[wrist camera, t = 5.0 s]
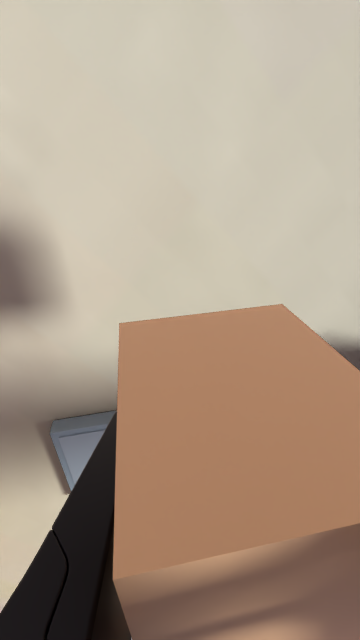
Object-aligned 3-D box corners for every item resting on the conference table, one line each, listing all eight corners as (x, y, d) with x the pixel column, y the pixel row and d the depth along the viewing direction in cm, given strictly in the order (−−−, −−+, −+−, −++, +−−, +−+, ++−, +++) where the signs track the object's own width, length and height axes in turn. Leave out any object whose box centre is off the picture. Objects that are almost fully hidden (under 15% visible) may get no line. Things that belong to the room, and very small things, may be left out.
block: (281, 303, 9) (499, 490, 4) (266, 420, 11) (388, 634, 6) (119, 323, 8) (113, 579, 3) (138, 441, 11) (153, 701, 6)
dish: (171, 401, 23) (174, 413, 22) (177, 473, 27) (180, 487, 26) (53, 420, 22) (49, 434, 21) (78, 492, 26) (76, 507, 25)
